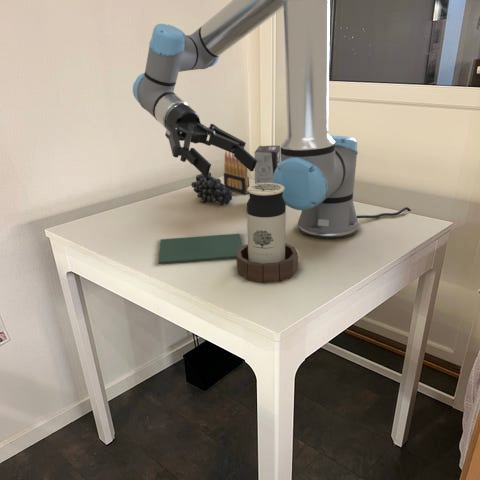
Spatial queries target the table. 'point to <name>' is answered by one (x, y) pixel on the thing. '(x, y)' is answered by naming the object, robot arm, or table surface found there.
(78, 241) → the table surface
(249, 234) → the travel mug
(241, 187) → the ammunition clip
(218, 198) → the fruit
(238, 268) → the holder
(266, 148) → the coffee box
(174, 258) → the mat
